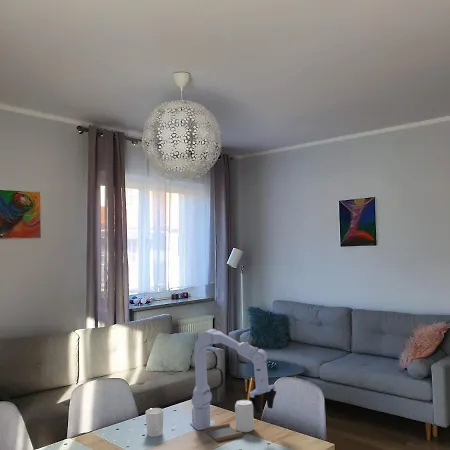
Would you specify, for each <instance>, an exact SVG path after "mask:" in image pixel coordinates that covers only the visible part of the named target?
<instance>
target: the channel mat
mask: <svg viewBox="0 0 450 450" xmlns="http://www.w3.org/2000/svg"><path fill="white" fill-rule="evenodd" d="M204 430H205V433H207V434H208V435H209V436H210V437H211V438H213V440H215V441H216V442H217V443H220V442H224V441H230V440H233V439H239V438H242V437H243V432H239V431H237V430H236V429H234V428H233V427H232V426H231V424H230V423H229V422H225V423H222V424H217V425H213V426H211V427H206V428H205V429H204Z"/></svg>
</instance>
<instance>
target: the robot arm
mask: <svg viewBox="0 0 450 450" xmlns="http://www.w3.org/2000/svg"><path fill="white" fill-rule="evenodd" d="M216 344H223V345H225V346H226V347H228V348H231V349H233V350H235V351H236V352H237V354H238V355H239V356H241V357H244V358H246V359H248V360H249V361H251V363H252V364H253V374H254V381H255V388H254V389H253V390H251V391H249V392H248V393H249V401H251V402H252V404H253V408H254V410H255V413H256V414H260V413H261V412H262V409H261V408H262V407H261V405H262V396H259V395H262V394H264V395H265V399H266V406H267V409H273V406H274V400H275V397H276V395H277V391H276V385H275V384H269V375H268V365H267V360H268V359H269V358H268V357H269V356H268V353H267V351H266V350H264V349H263V348H258V347H257V346H255V347H254V346H253V345H250V343H249V341H248V342H247V341H242V342H239V341H237V340H235V339H234V338H232V337H230V336H229V335H227V334H225V333H223V332H222V331H221V330H217V329H216V328H211V329H209V330H208V329H207V330H206V331H202V332H201V333H200V334H199V335H198V336H197V340H196V341H195V344H194V346H193V348H194V350H193V351H194V352H193V353H194V369H195V370H194V371H195V372H194V373H195V374H194V375H195V386H194V389H193V391H192V397H191V403H192V408H191V422H190V425H191V426H192V427H193V428H194V429H196V430H197V431H202V430H205V428H206V427H211V426H214V424H212V423H211V401H212V399H213V395H212V392H211V387H210V385H209V384H208V370H207V369H208V368H207V349H209V348H210V346H211V345H216Z"/></svg>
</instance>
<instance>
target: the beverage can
mask: <svg viewBox="0 0 450 450" xmlns="http://www.w3.org/2000/svg"><path fill="white" fill-rule="evenodd" d="M234 418H235V430H236V431H237V432H242V433H249V432H252V431H253V430H254V429H255V428H254V427H255V426H254V424H255V423H254V420H255V419H254V405H253V403H252V401H251V400H250V399H240V400H237V401H236V402H235V404H234Z"/></svg>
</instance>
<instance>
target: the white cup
mask: <svg viewBox="0 0 450 450" xmlns="http://www.w3.org/2000/svg"><path fill="white" fill-rule="evenodd" d="M164 411H165V410H164V409H163V408H160V407H154V408H149V409H147V410H145V422H146V423H145V424H146V435H147V436H148V437H150V436H151V437H150V438H157V437H160V436H162V434H163V432H164V431H163V428H164Z"/></svg>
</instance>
